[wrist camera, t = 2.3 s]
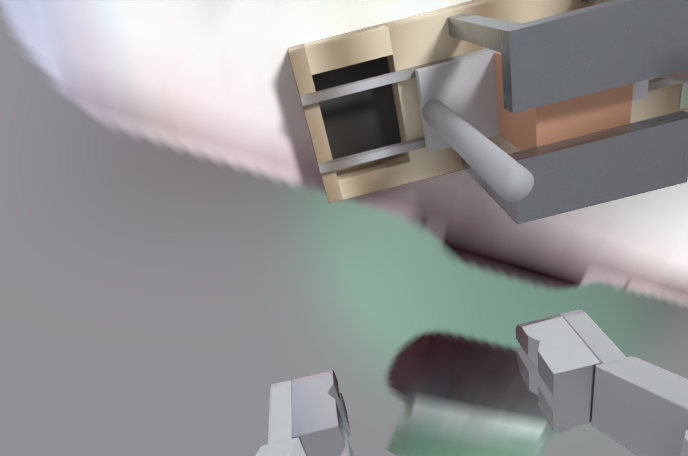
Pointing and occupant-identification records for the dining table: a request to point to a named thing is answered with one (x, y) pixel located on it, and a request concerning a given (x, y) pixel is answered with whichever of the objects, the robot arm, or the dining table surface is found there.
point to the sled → (509, 117)
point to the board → (407, 95)
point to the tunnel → (582, 79)
